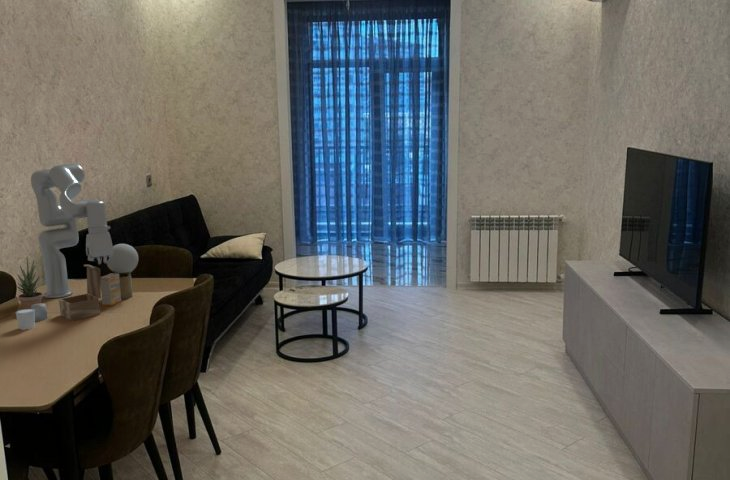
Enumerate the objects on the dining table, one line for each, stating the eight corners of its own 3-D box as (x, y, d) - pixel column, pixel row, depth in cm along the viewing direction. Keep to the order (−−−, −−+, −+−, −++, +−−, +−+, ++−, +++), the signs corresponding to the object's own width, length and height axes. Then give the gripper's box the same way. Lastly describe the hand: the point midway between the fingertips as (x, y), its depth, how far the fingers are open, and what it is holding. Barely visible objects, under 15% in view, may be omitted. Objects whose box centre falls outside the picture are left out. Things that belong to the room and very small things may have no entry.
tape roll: (30, 319, 282) (29, 305, 281) (44, 316, 286) (43, 302, 285) (35, 321, 278) (33, 307, 277) (49, 318, 282) (47, 304, 281)
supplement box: (111, 306, 299) (109, 277, 296) (102, 305, 299) (99, 277, 297) (122, 301, 306) (119, 273, 304) (112, 300, 307) (109, 272, 305)
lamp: (141, 291, 323) (137, 240, 318) (141, 298, 310) (137, 245, 305) (107, 294, 318) (102, 242, 314) (106, 302, 305) (101, 248, 301)
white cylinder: (40, 325, 272) (38, 309, 271) (27, 331, 266) (25, 313, 264) (27, 324, 274) (25, 308, 273) (13, 329, 268) (11, 312, 267)
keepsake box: (60, 315, 287) (58, 299, 285) (88, 309, 295) (87, 293, 294) (71, 320, 278) (69, 304, 277) (100, 314, 286) (98, 298, 285)
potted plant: (47, 310, 295) (41, 255, 290) (25, 315, 288) (18, 258, 283) (38, 306, 301) (32, 252, 297) (16, 311, 295) (9, 255, 290)
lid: (83, 264, 291) (88, 264, 293) (84, 293, 293) (89, 293, 294) (95, 268, 282) (100, 268, 284) (95, 298, 284) (100, 298, 285)
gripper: (111, 227, 292) (115, 268, 296) (76, 231, 282) (81, 274, 285) (118, 228, 287) (123, 270, 290) (84, 233, 277) (88, 277, 280)
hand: (102, 272), depth 288 cm, fingers closed
